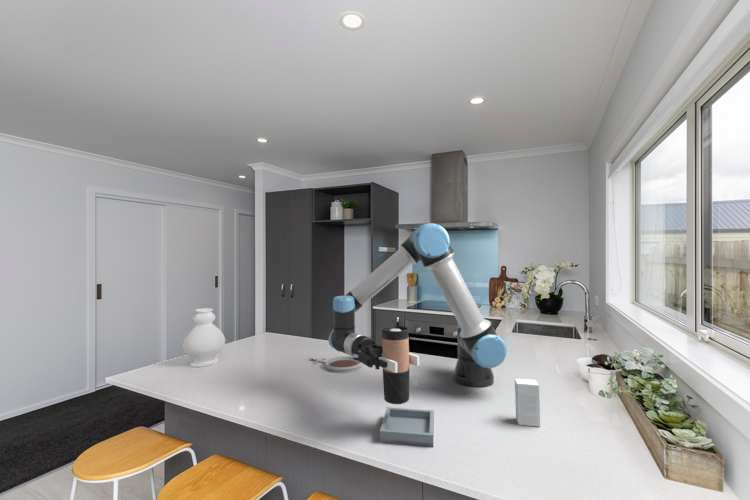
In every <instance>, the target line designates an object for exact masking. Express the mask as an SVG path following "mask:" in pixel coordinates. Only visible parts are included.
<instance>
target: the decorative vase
mask: <svg viewBox="0 0 750 500" xmlns="http://www.w3.org/2000/svg"><path fill="white" fill-rule="evenodd" d="M194 310H195V313H196V314H195V315H194V316H193V317H192V321H193V322H194V323H195V324H196V325H194V327H193V328H192V329H191V330H190V331H189V332H188V333H187V334H186V336H185V337H184V340H183V342H182V350H183V351H184V353H185V355H187V357H188V358H189V359H191V361H190V362H189V367H192V368H205V367H210V366H214V365H216V364H218V363H219V362H220V358H219V357H218V356H219V354H220V353H221V352H222V350H223V349H224V347H225V346H226V336H225V335H224V333H223V332H222V330H220V328H218V326H216V325H215V324H213V322H215V320H216V314H214V313H213V311H214V308H213V307H208V308H207V307H202V308H196V309H194Z"/></svg>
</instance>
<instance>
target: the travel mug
mask: <svg viewBox="0 0 750 500" xmlns="http://www.w3.org/2000/svg"><path fill="white" fill-rule="evenodd" d="M381 334H382V335H381V339H382V341H381V342H382V344H381V345H382V357H384V358H387V359H390V360H393V361H395V362H397V371H398V372H397V373H394V372H392V371H389V370H387V369H385V368H382V379H383V381H382V384H383V399H384V401H385V402H386V403H389V404H392V405H402V404H405V403H407V402H408V401H409V399H410V363H409V353H410V346H409V344H410V343H409V339H410V338H409V327H407V326H403V325H396V326H395V327H389V326H384V327H383V328H382V329H381Z"/></svg>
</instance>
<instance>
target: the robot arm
mask: <svg viewBox="0 0 750 500" xmlns="http://www.w3.org/2000/svg"><path fill="white" fill-rule="evenodd" d="M450 242H451V241H450V236H449V232H448V231H447V230H446V229H445V228H444V227H443V226H441V225H440V224H437V223H431V222H429V223H423V224H422V225H420V226H418V227H417V228H415V229H414V230H413V231H412V233H410V235H409V236H408V237H407V238H406V239H405V240H404V241H403V242H402V243H401V244H400V245H399V246H398V247H399V249H398V250H397V251H396V252H394V253H393V254H392V255H391V256H389V258H387V259H386V260H385V261H383V262H382V263H381V264H380V265H379V266H378V267H377V268H375V269H374V270H373V271H372V272H371V273H369V274H368V275H367V276H366V277H365V278H364V279H363V280H361V281H360V282H359V283H358V284H357V285H356V286H354V287H352V289H351V290H350V291H348V292H347V293H346V294H345V295H337V296H334V297H333V299H332V300H333V301H332V311H333V312H332V313H333V314H332V315H333V318H332V319H333V329H332V330H331V331H330V333H329V336H328V344H329V346H330V347H331V348H332V349H334V350H335V351H337V352H341V353H343V354H346V355H347V356H353V357H354V360H358V361H360V362H361V363H363V364H362V365H364V366H366V367H368V368H370V369H371V368H374V367H375V368H374V369H375V370H380V367H381V368H382V369H383V368H385V369H387V370H389V371H392V372H394V373H397V372H398V371H397V362H395V361H393V360H390V359H387V358H384V357H382V344H379V343H376V341H375V340H374V339H373V338H372V337H370V336H365V335H363V334H360V333H356V321H355V319H356V315H355V314H356V312H357V311H359V310H360V309H361V308H362V307H363V306H364V305H365V304H366V303H368V301H370V300H371V299H372V298H373V297H375V296H376V295H377V294H378V293H379V292H381V291H382V290H383V289H384V288H385V287H387V286H388V285H389V284H390V283H391V282H392V281H394V280H395V279H396V278H397V277H398V276H400V275H401V274H402V273H403V272H404V271H406V270H407V269H408V268H409V267H410V266H412V265H417V264H418V263H419V262H420V261H421V263H422V265H423V267H424V269H425V268H426V269H427V270H428V269H429V270H430V271H431V274H432V275H433V277H434V279H435V281H436V283H437V285H438V287H439V288H440V290H441V292H442V295H443V297H444V298H445V300H446V303H447V304H448V306H449V308H450V309H451V312H452V314H453V315H454V317H455V320H456V321H457V326H456V327H457V328H456V331H457V361H456V363H455V368H454V371H453V380H454V381H455V382H456V383H458V384H459V385H463V386H466V387H467V386H468V387H473V388H474V387H475V388H483V387H489V386H492V385H493V384H494V383H495V378H494V372H493V369H494V368H496V367H499V366H501V364H502V363H503V362H504V361H505V359H506V357H507V353H508V350H507V349H508V348H507V344H506V343H505V341H504V340H503V339H502V338H501V337H500V336H499V335H498V334H497V332H496V330H495V327H494V326H493V324H492V322H491V321H490V320H488V319H485V318H484V316H483V315H482V313H481V311H480V309H479V307H478V305H477V303H476V302H475V299H474V297H473V296H472V294H471V291H470V290H469V288H468V285H467V284H466V282H465V280H464V278H463V276H462V274H461V272H460V270H459V269H458V266H457V264H456V263H455V261H454V259H453V258H454V254H455V252H454V249H453V247H452V246H451V243H450ZM409 365H412V366H416V367H419V366H420V356H419V355H417V354H414V353H411V352H409Z"/></svg>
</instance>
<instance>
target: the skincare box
mask: <svg viewBox="0 0 750 500" xmlns="http://www.w3.org/2000/svg"><path fill="white" fill-rule="evenodd" d="M514 390H515V391H514V393H515V398H514V399H515V420H516V422H517V425H519V426H526V427H527V426H529V427H537V428H538V427H541V407H540V405H541V403H540V402H541V401H540V384H539V383H538V382H537V380H536V379H528V378H527V379H525V378H524V379H523V378H514Z"/></svg>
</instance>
